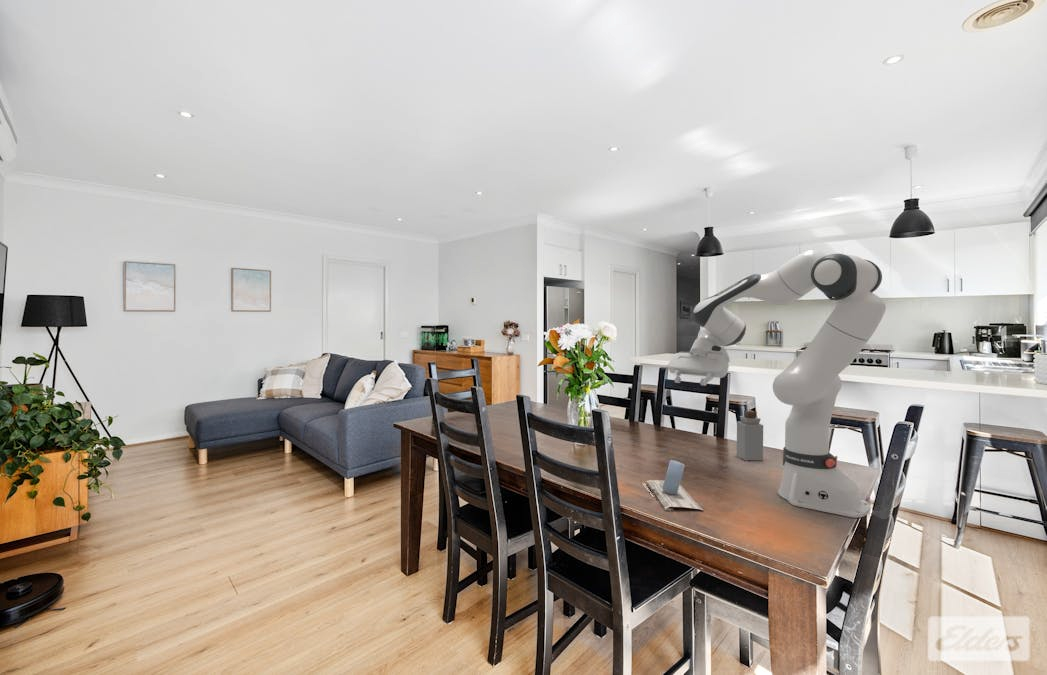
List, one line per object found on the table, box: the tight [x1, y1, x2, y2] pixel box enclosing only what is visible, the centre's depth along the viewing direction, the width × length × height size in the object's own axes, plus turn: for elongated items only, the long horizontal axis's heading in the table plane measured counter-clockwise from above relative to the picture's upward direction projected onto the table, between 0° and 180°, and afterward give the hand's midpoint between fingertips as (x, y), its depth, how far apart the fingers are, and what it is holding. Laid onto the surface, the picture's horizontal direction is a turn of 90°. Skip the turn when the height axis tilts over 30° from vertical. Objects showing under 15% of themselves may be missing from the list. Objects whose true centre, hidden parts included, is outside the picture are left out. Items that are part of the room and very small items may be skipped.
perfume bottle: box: [736, 410, 764, 462], centre depth 175 cm, size 7×7×18 cm
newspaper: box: [641, 479, 704, 512], centre depth 138 cm, size 23×12×2 cm, turn 178°
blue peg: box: [662, 459, 686, 495], centre depth 138 cm, size 4×4×9 cm
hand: (689, 383), depth 157 cm, fingers open, 8 cm apart
